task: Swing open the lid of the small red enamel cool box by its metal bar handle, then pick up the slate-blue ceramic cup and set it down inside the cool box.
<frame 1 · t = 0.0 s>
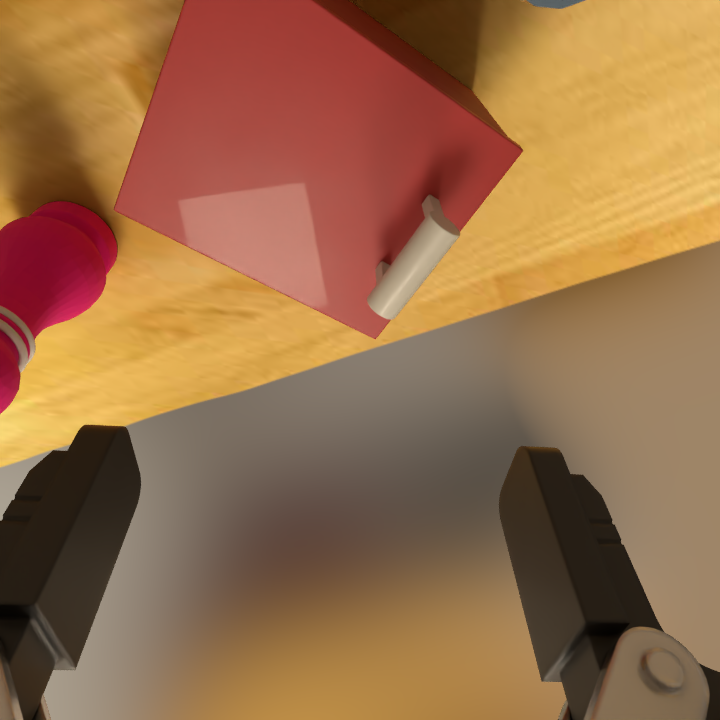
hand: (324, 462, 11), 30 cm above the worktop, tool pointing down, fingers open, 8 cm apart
cooler lid: (310, 195, 26), point 12 cm above the worktop, hinge at 0.0°
pepper mill: (76, 238, 40), on the worktop
cooler: (316, 120, 35), on the worktop
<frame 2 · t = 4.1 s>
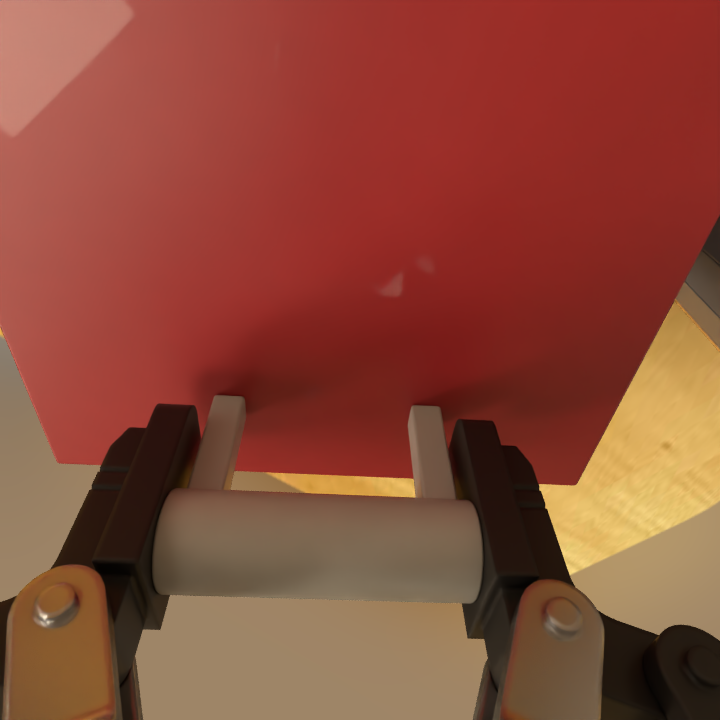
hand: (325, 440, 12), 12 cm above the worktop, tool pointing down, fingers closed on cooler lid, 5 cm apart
cooler lid: (341, 200, 7), point 12 cm above the worktop, hinge at 0.0°, touching gripper
cup: (718, 212, 21), on the worktop
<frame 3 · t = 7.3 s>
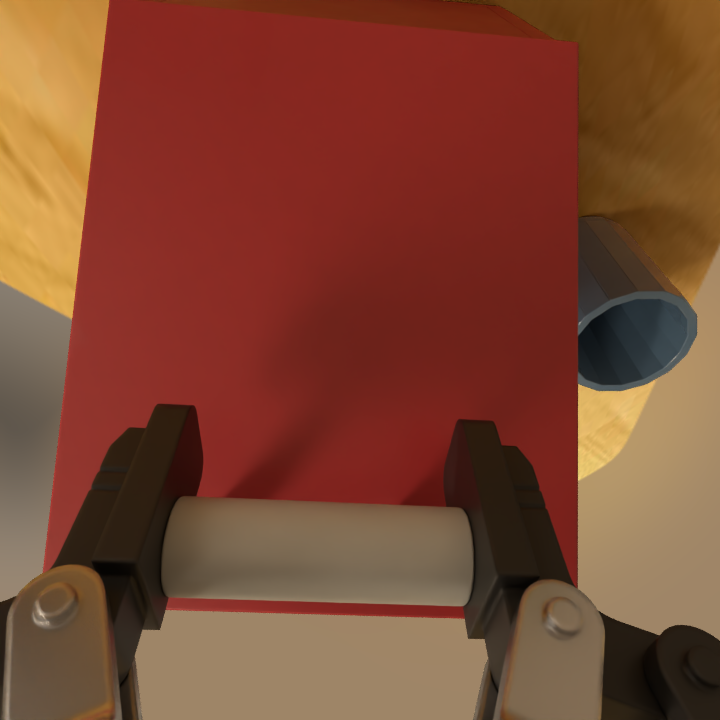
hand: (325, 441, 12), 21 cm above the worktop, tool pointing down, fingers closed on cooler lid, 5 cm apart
cooler lid: (336, 279, 13), point 18 cm above the worktop, hinge at 46.6°, touching gripper
cooler: (340, 166, 29), on the worktop
cup: (577, 264, 32), on the worktop
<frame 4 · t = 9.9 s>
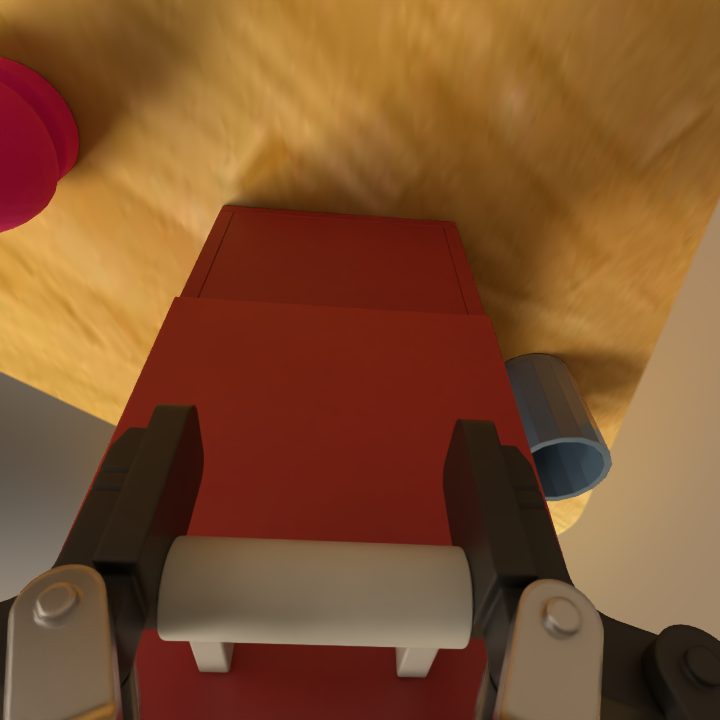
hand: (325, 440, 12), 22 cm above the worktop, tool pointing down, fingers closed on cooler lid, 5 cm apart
cooler lid: (328, 421, 16), point 19 cm above the worktop, hinge at 87.9°, touching gripper
pepper mill: (19, 122, 28), on the worktop
cooler: (333, 321, 36), on the worktop
cup: (528, 386, 40), on the worktop
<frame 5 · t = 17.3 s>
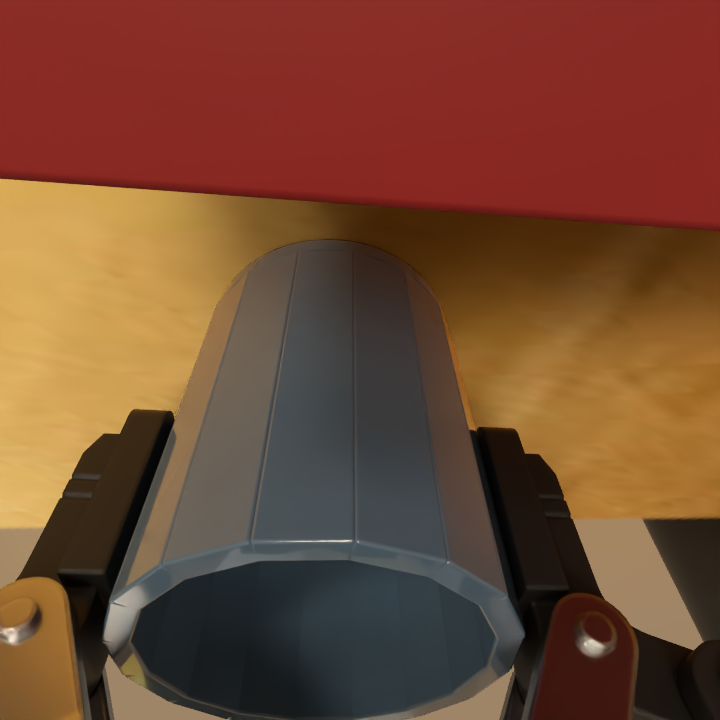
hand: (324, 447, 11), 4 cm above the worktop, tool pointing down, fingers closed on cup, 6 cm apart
cup: (331, 345, 14), on the worktop, touching gripper
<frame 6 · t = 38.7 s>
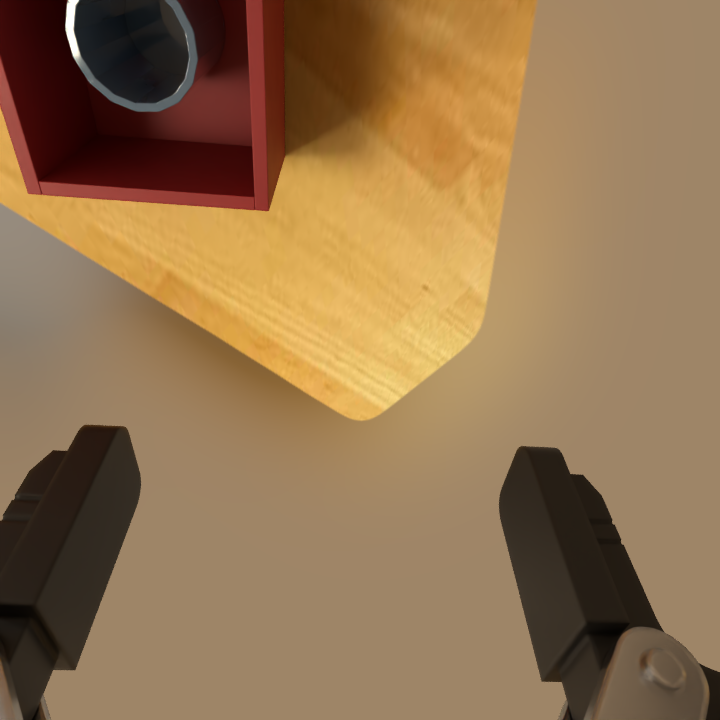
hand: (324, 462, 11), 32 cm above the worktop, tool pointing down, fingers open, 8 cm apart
cooler: (175, 21, 33), on the worktop
cup: (174, 23, 33), point 1 cm above the worktop, touching cooler
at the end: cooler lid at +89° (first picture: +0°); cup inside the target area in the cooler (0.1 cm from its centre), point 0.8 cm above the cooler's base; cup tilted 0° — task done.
